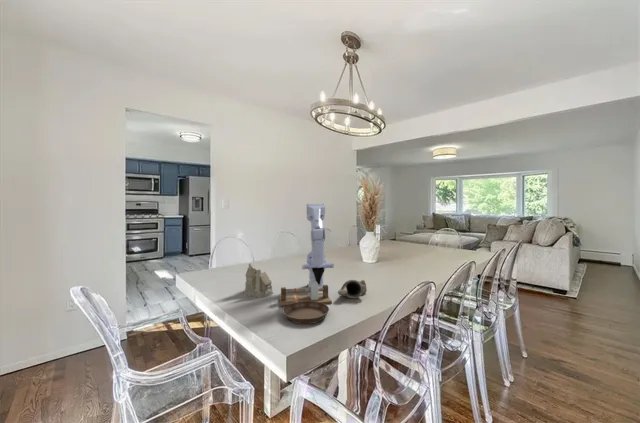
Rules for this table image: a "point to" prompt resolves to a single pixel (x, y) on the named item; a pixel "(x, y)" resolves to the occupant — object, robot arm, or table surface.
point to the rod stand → (303, 296)
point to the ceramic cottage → (257, 283)
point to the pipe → (353, 288)
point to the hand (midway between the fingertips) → (318, 284)
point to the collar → (313, 289)
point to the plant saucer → (306, 312)
